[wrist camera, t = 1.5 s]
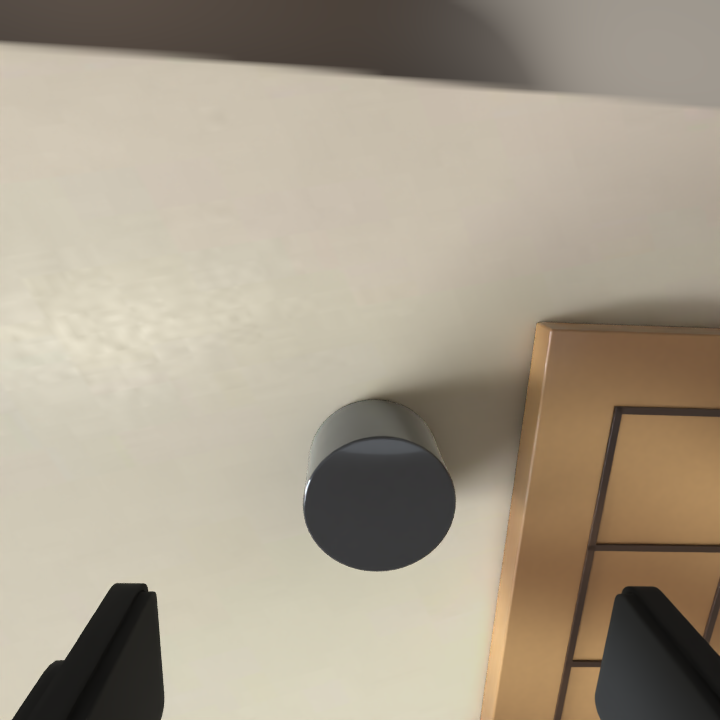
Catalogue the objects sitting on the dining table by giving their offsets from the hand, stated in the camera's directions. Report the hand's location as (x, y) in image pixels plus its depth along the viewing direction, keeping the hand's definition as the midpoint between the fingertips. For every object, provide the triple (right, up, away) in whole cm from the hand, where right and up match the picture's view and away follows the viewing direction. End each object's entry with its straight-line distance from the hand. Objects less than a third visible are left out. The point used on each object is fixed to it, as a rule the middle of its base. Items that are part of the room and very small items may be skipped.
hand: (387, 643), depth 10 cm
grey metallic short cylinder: (0, +2, +7) cm, 7 cm away
